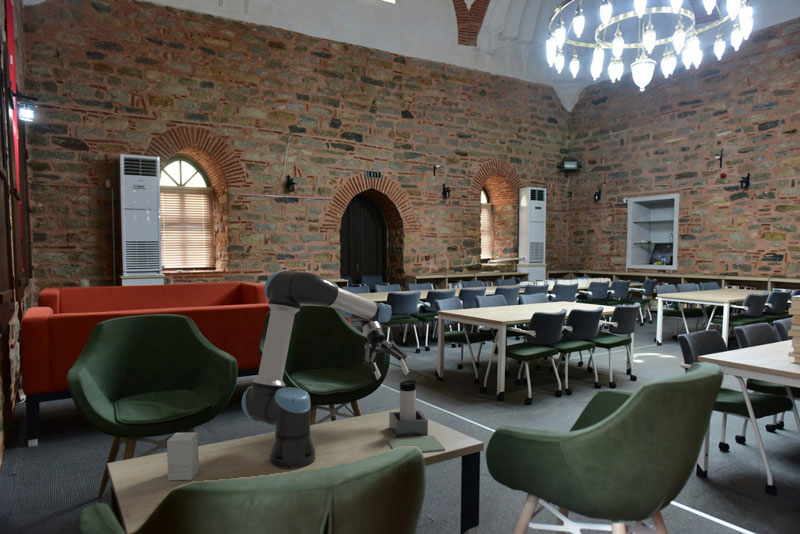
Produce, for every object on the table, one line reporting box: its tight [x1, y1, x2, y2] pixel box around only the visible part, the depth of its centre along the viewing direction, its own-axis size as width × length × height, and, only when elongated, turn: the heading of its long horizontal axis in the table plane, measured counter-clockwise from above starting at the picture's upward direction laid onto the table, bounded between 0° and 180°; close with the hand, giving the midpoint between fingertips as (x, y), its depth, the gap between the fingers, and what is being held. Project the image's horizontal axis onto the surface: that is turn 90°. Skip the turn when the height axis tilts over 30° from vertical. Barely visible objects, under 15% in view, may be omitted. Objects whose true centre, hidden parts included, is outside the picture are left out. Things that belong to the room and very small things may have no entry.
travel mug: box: [399, 379, 417, 421], centre depth 205 cm, size 6×7×20 cm
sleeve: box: [388, 410, 429, 438], centre depth 206 cm, size 12×12×6 cm
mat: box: [387, 434, 446, 453], centre depth 191 cm, size 18×14×1 cm
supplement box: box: [166, 431, 200, 481], centre depth 165 cm, size 7×7×13 cm
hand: (393, 375), depth 214 cm, fingers open, 13 cm apart
